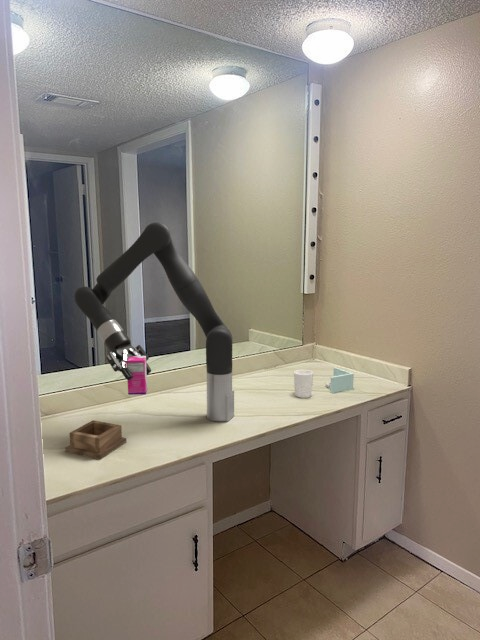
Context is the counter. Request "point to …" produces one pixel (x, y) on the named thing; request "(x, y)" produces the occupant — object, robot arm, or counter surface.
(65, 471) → the counter surface
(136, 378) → the supplement box
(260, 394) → the counter surface
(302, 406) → the counter surface
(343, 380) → the right angle wall
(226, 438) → the counter surface
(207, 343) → the robot arm
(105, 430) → the post socket
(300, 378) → the white cup
